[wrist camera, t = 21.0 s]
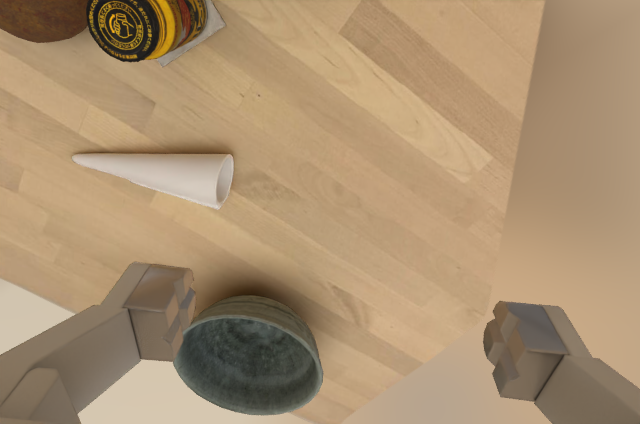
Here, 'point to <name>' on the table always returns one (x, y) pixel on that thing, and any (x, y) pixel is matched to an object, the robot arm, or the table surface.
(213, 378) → the bowl
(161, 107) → the table surface
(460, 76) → the table surface
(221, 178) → the long cone
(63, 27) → the potato
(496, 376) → the robot arm
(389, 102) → the table surface
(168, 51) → the condiment
